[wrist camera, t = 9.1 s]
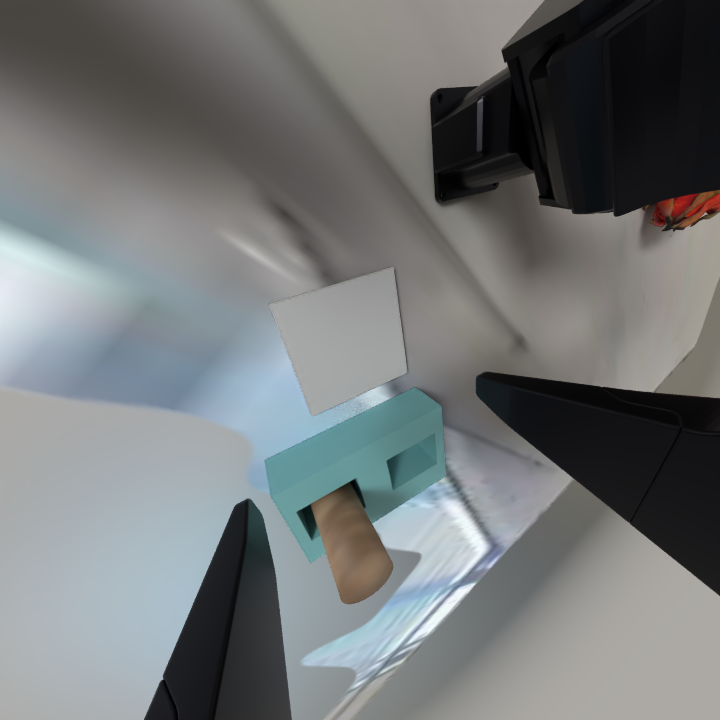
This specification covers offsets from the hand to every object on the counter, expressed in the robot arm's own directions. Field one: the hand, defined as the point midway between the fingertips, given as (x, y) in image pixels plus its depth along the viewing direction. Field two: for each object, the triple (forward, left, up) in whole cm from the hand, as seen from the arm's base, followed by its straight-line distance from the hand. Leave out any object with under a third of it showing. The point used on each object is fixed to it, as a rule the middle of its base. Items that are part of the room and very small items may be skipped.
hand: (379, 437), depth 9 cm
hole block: (-2, +15, -13) cm, 19 cm away
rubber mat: (-4, +2, -13) cm, 13 cm away
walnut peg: (+2, +14, -13) cm, 19 cm away
